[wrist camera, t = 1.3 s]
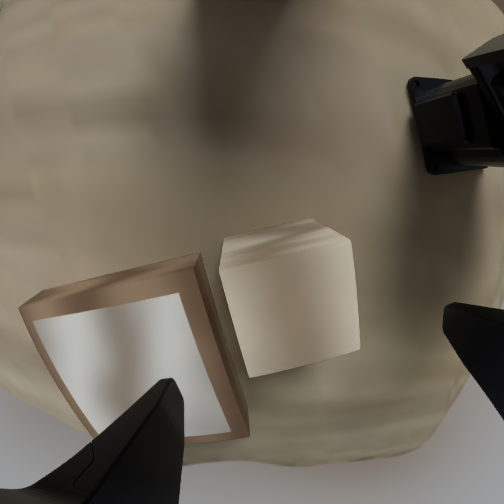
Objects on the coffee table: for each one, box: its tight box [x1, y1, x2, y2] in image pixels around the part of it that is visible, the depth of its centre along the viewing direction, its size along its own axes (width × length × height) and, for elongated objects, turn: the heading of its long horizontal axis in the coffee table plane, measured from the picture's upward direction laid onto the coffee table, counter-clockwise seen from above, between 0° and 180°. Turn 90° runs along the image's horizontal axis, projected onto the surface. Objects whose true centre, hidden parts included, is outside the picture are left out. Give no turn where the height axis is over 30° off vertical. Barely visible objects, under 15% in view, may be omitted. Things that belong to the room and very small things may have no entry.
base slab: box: [18, 253, 250, 444], centre depth 16 cm, size 12×12×3 cm
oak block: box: [219, 218, 360, 378], centre depth 14 cm, size 5×5×6 cm
